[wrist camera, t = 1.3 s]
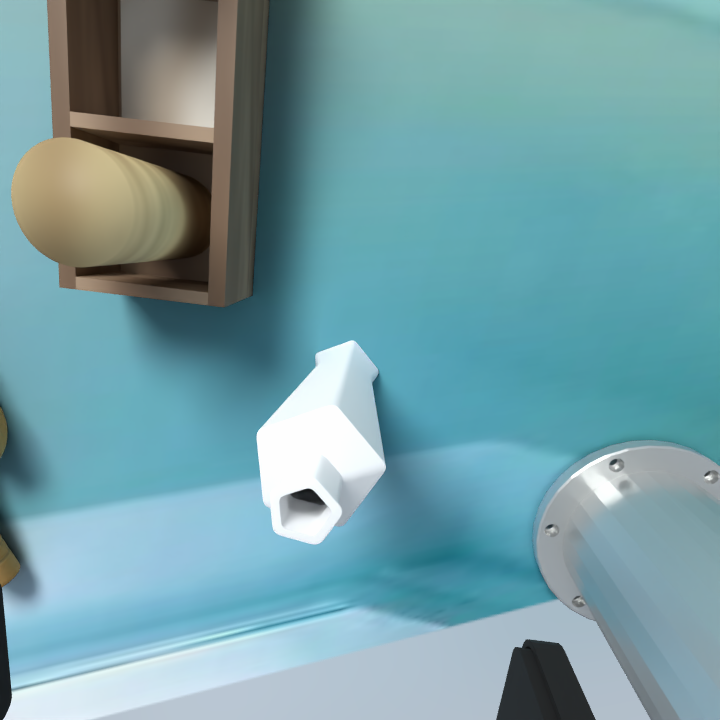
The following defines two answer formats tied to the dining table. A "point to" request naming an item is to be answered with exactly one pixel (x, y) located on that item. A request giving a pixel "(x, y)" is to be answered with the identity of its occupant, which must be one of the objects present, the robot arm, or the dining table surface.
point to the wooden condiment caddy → (150, 148)
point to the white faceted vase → (322, 447)
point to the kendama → (3, 563)
